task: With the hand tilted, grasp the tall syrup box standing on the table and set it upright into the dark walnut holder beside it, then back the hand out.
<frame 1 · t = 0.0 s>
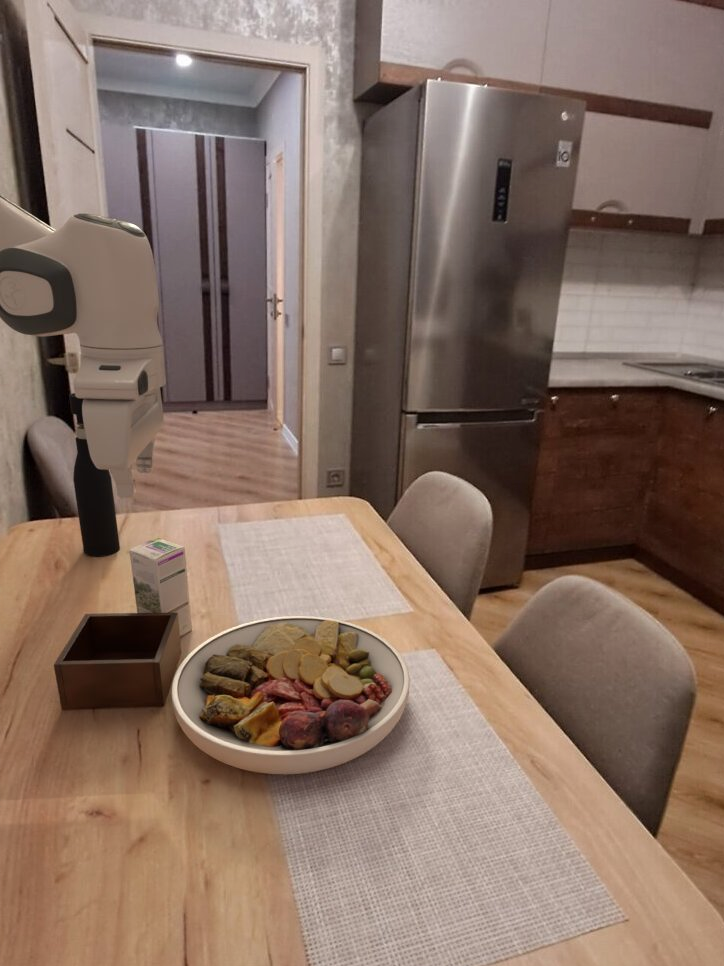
hand: (137, 482, 83), 28 cm above the table, tool pointing down, fingers open, 8 cm apart
bowl: (294, 706, 88), on the table
black water bottle: (102, 550, 129), on the table
holder: (125, 679, 91), on the table
syrup box: (166, 633, 103), on the table
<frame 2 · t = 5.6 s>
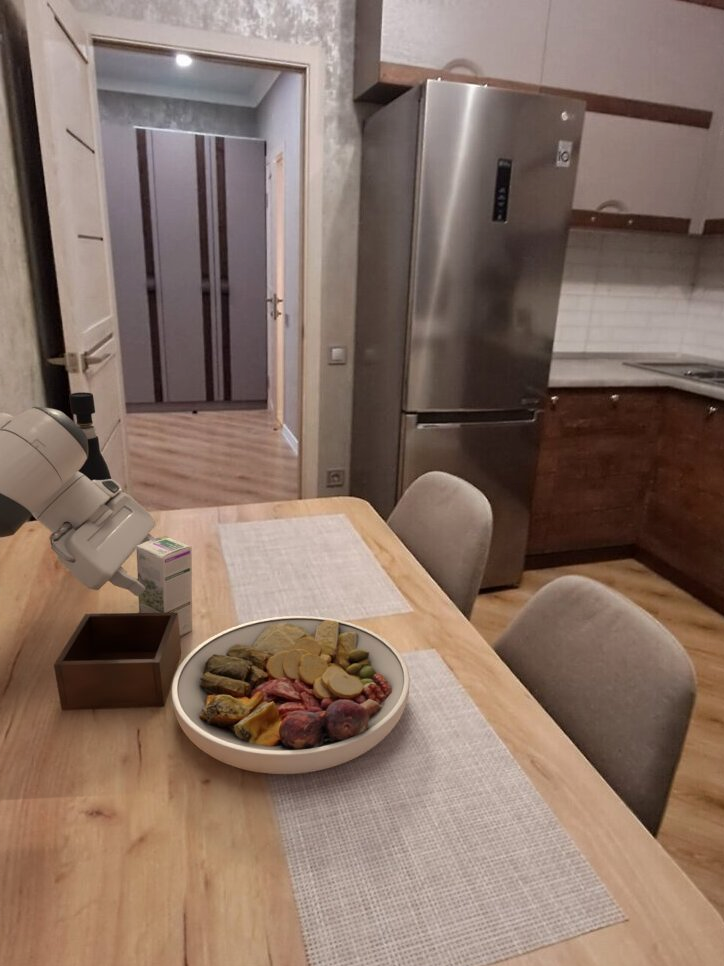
hand: (154, 576, 99), 10 cm above the table, tool tilted 45°, fingers open, 8 cm apart
syrup box: (166, 632, 103), on the table, touching gripper
everything else where it was.
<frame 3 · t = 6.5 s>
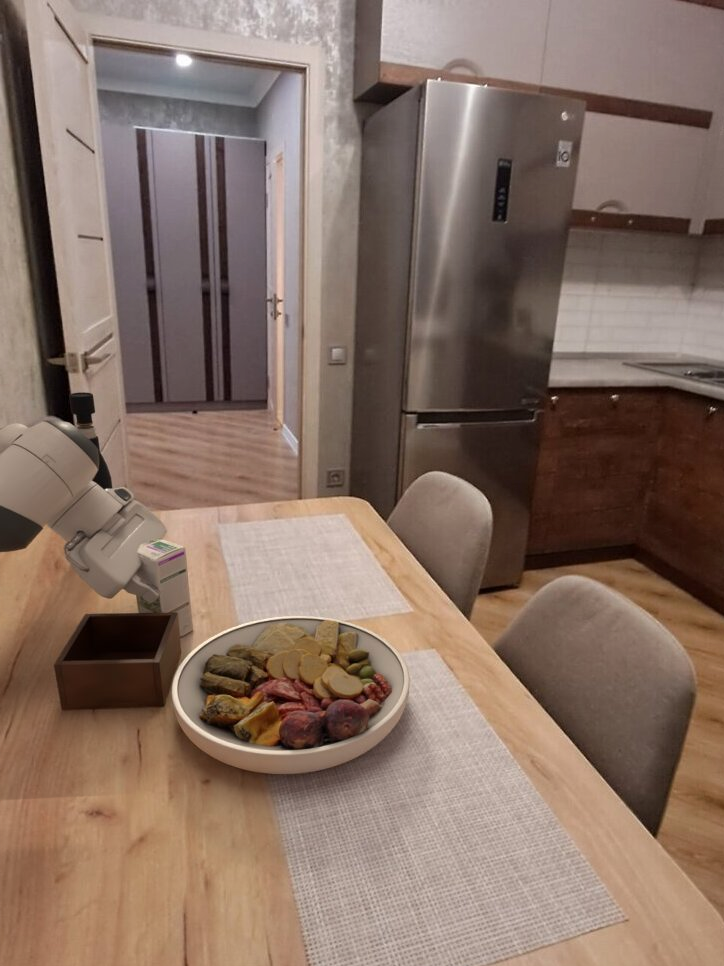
hand: (166, 583, 99), 8 cm above the table, tool tilted 45°, fingers closed on syrup box, 7 cm apart
syrup box: (167, 633, 103), on the table, touching gripper
everything else where it was.
when the fingers open (9 cm above the table, at t = 15.7 s): syrup box stays where it is, resting on holder.
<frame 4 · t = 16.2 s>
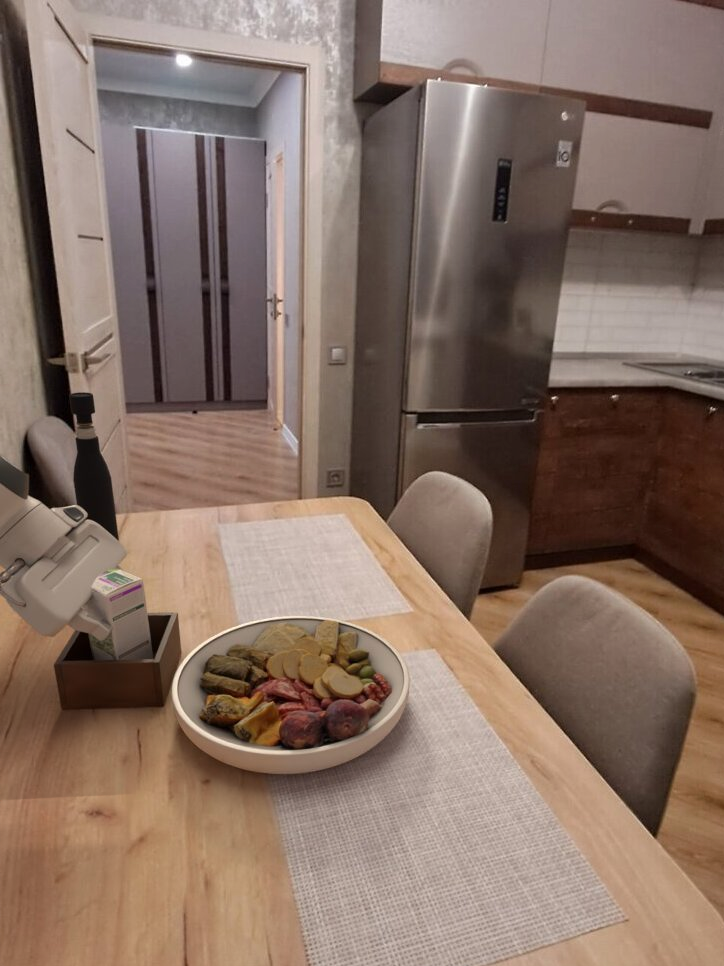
hand: (122, 615, 88), 10 cm above the table, tool tilted 45°, fingers open, 8 cm apart
syrup box: (125, 675, 91), point 1 cm above the table, touching gripper, holder
everything else where it was.
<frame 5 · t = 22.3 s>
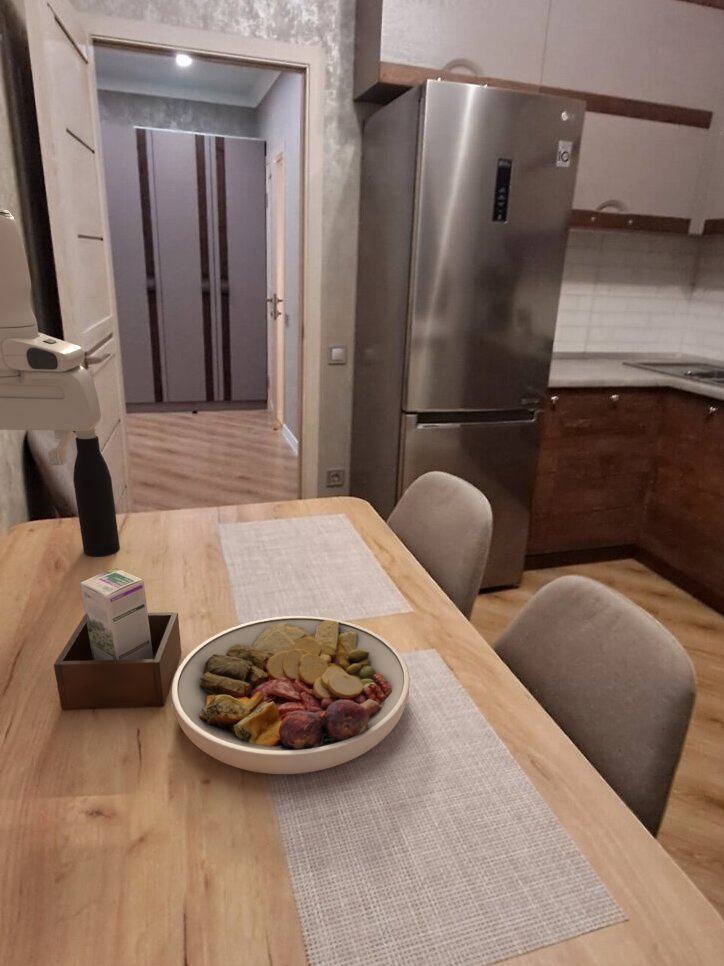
hand: (19, 463, 83), 29 cm above the table, tool pointing down, fingers open, 8 cm apart
syrup box: (125, 675, 91), point 1 cm above the table, touching holder
everything else where it was.
at the end: syrup box inside the target area in the holder (0.0 cm from its centre), point 0.6 cm above the holder's base; syrup box tilted 0°; the gripper is holding nothing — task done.
